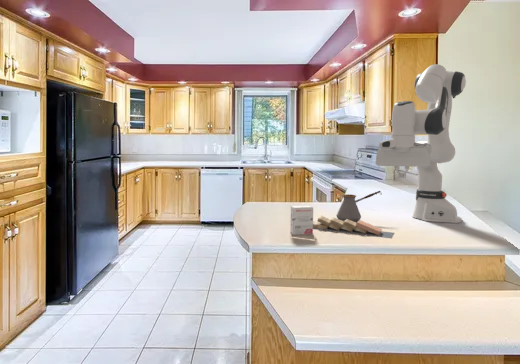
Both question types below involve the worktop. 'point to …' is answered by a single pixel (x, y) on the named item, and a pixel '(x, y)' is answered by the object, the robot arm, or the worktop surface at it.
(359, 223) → the domino
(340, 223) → the domino
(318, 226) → the domino
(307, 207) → the ink box
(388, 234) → the runner mat
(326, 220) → the domino
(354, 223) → the domino
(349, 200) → the coffee pot
